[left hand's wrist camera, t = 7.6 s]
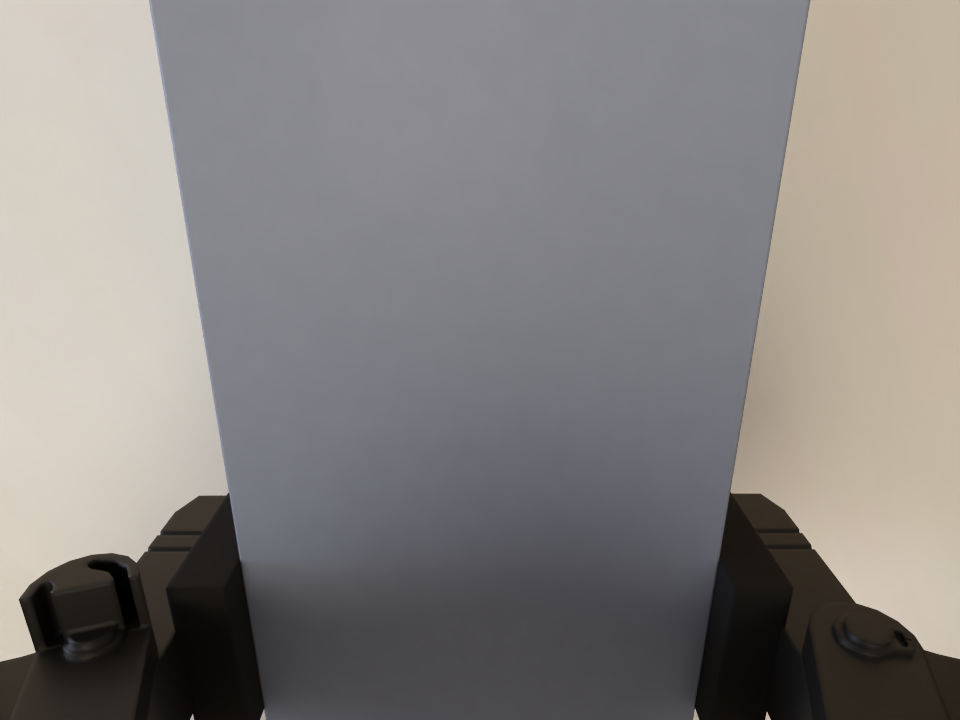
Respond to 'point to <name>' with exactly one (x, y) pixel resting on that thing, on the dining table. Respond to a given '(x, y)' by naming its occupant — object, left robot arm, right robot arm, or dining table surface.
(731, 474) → the cabinet
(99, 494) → the dining table surface
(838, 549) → the dining table surface
